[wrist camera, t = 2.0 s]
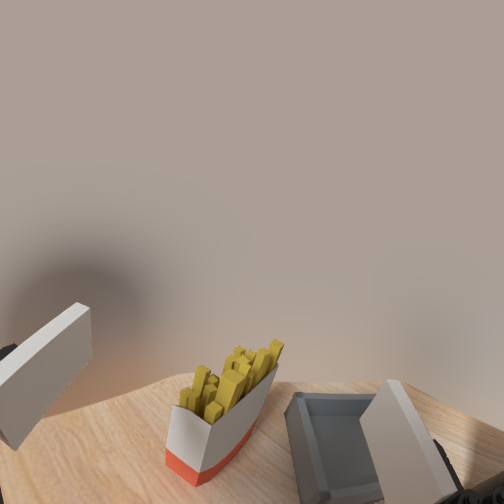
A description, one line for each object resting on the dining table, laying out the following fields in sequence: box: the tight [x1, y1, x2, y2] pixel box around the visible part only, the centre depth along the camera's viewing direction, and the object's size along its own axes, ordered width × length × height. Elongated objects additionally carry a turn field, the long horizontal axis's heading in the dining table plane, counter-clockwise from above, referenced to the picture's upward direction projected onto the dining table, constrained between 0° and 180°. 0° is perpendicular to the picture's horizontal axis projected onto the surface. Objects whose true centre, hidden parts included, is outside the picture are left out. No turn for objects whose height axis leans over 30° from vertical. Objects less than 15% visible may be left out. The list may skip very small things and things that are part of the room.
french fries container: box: [166, 339, 284, 487], centre depth 23 cm, size 5×11×18 cm, turn 149°
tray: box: [284, 392, 384, 504], centre depth 28 cm, size 20×18×5 cm
